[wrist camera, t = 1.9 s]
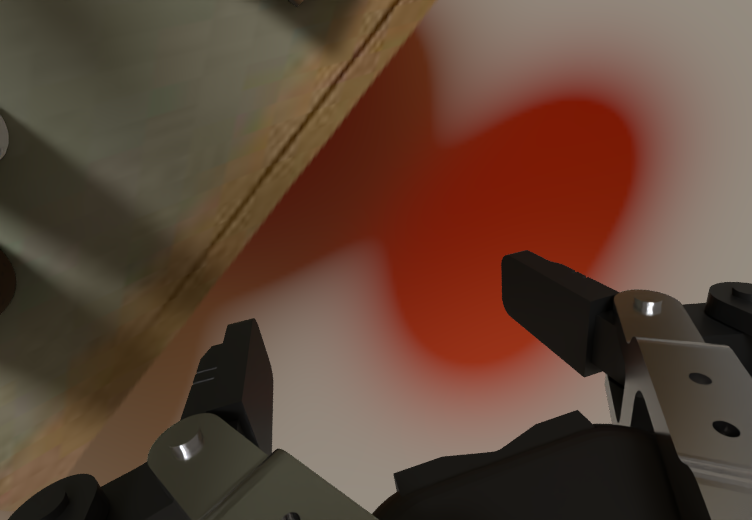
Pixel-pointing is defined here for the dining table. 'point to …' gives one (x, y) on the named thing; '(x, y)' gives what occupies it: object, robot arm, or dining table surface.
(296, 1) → the walnut socket
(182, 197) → the dining table surface
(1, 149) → the spray can
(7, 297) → the brown bottle
